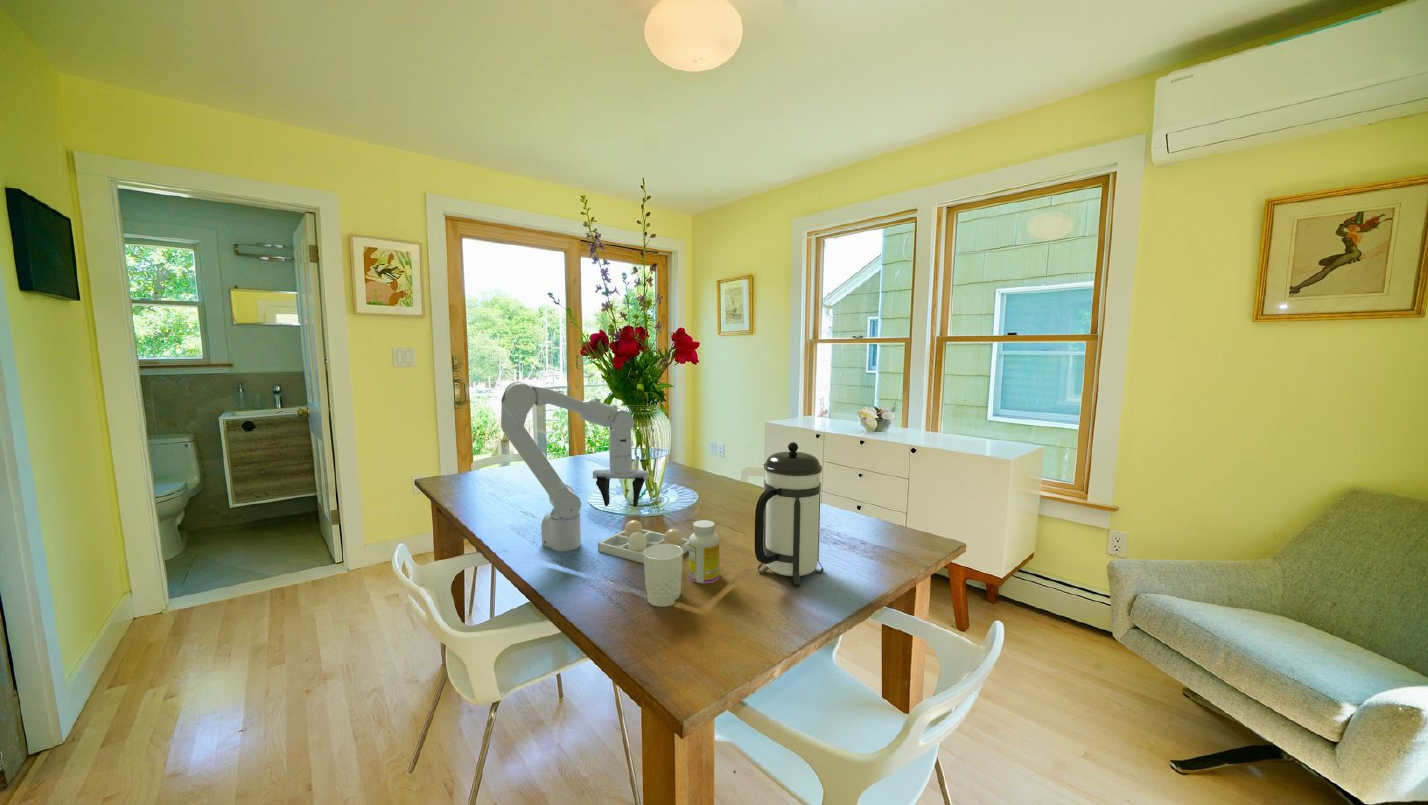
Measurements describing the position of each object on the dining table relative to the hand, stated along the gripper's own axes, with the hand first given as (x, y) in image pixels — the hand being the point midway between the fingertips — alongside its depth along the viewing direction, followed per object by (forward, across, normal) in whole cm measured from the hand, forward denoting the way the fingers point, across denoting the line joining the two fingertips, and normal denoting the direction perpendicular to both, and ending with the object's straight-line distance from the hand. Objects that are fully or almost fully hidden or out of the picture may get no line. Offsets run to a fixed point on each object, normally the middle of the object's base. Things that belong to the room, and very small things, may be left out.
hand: (621, 505), depth 128 cm
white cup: (+10, +16, -30) cm, 36 cm away
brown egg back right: (+8, +15, -8) cm, 19 cm away
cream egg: (+8, +7, -11) cm, 16 cm away
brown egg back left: (+8, +4, -3) cm, 10 cm away
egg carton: (+9, +8, -8) cm, 15 cm away
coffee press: (+10, +43, -18) cm, 47 cm away
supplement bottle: (+10, +24, -22) cm, 34 cm away
